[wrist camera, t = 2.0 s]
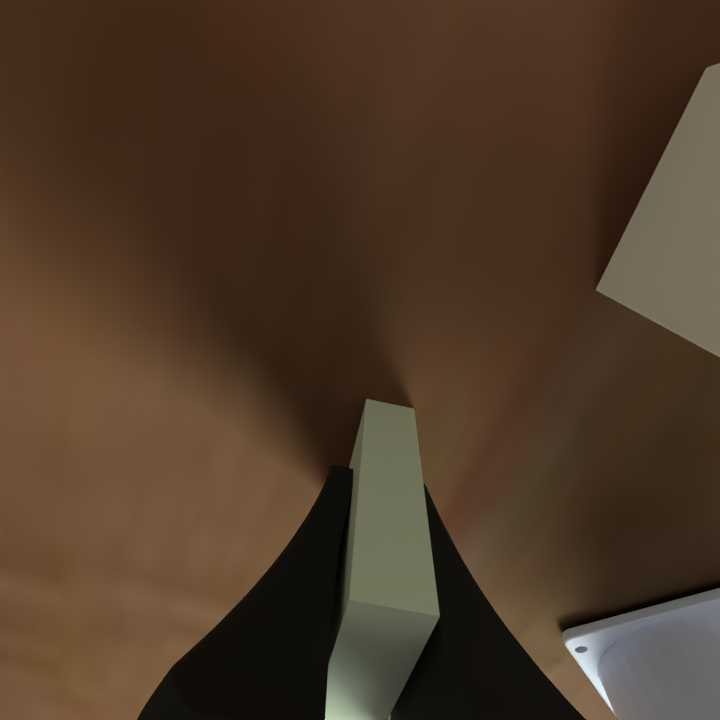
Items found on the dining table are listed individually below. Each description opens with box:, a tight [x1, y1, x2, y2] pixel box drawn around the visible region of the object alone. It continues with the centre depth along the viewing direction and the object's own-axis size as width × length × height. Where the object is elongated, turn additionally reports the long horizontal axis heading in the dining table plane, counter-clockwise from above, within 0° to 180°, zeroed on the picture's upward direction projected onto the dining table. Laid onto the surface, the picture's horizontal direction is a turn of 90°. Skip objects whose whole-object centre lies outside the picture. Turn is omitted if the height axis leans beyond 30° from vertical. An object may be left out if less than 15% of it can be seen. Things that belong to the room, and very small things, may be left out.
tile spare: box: [325, 399, 440, 720], centre depth 10 cm, size 2×5×6 cm, turn 169°
